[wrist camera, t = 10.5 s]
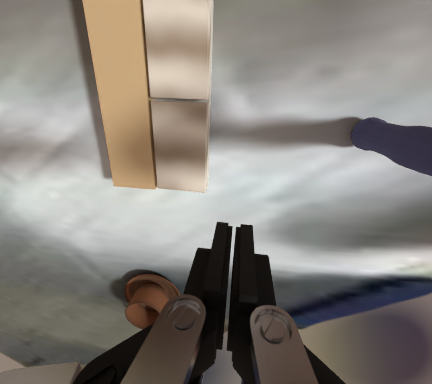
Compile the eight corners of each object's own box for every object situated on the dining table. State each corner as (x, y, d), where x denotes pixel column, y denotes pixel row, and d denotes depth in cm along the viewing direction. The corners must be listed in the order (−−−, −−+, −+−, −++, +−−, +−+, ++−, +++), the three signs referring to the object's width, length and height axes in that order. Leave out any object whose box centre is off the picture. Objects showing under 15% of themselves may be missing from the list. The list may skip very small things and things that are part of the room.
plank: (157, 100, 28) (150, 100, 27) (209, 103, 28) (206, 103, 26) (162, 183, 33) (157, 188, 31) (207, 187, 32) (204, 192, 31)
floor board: (97, -19, 25) (75, -36, 22) (214, -20, 24) (209, -38, 21) (125, 178, 36) (113, 187, 32) (208, 185, 34) (204, 194, 31)
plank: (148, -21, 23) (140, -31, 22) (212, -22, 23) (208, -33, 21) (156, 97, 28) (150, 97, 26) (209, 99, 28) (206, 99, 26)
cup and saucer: (181, 314, 48) (172, 343, 42) (129, 303, 49) (114, 330, 43) (185, 275, 43) (177, 301, 37) (128, 263, 44) (110, 287, 38)
